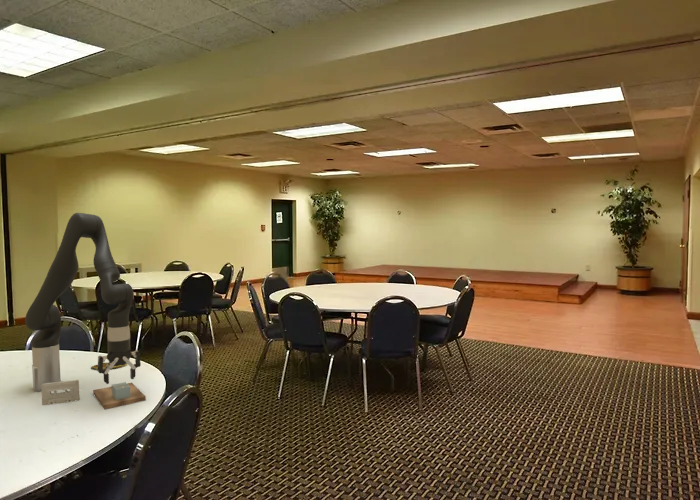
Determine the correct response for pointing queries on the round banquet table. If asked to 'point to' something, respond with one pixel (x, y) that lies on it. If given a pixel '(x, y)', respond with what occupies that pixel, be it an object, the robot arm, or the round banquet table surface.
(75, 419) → the round banquet table surface
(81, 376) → the round banquet table surface
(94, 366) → the gold looped flat piece
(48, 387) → the cassette
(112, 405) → the board
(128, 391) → the grey-green box
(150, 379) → the round banquet table surface
